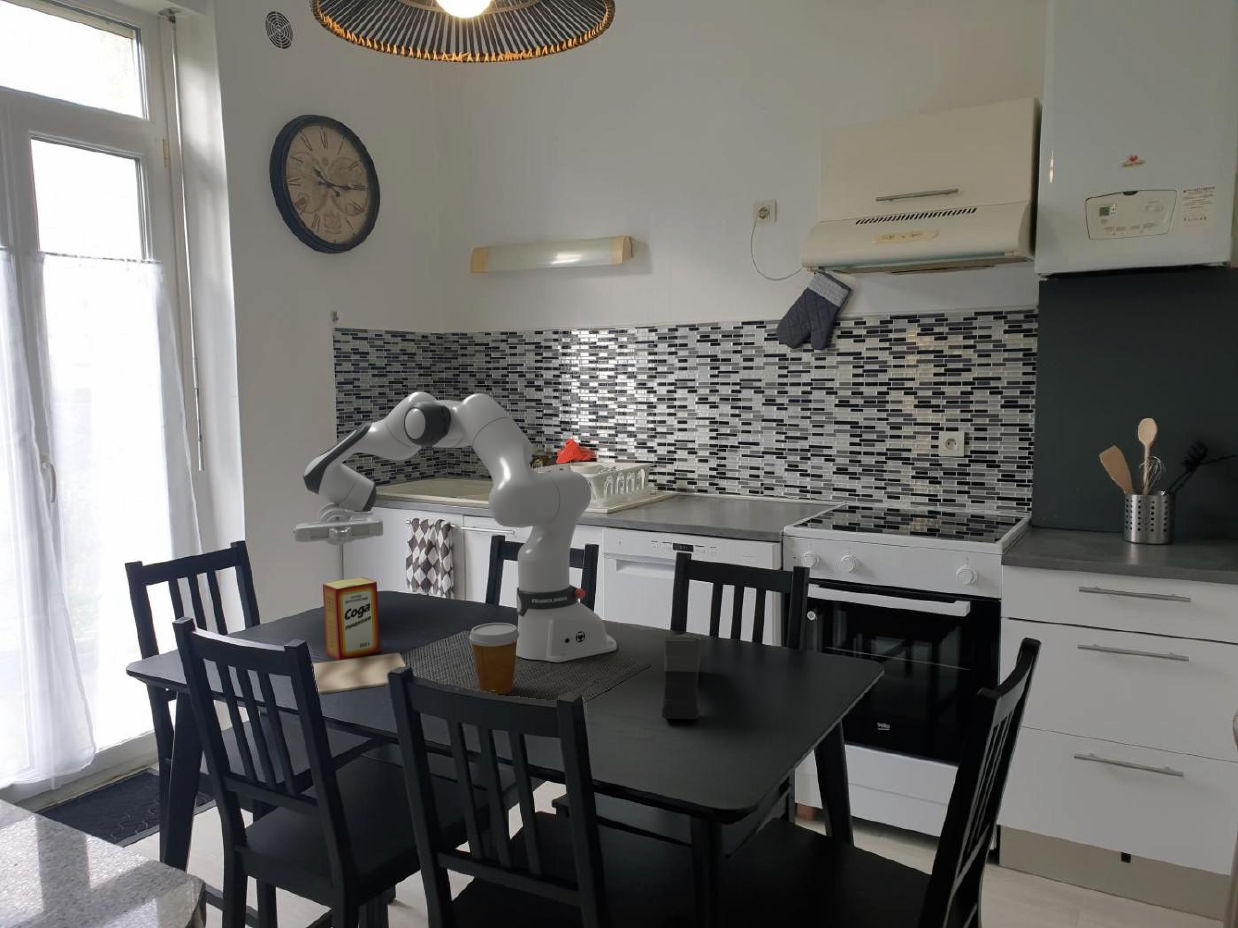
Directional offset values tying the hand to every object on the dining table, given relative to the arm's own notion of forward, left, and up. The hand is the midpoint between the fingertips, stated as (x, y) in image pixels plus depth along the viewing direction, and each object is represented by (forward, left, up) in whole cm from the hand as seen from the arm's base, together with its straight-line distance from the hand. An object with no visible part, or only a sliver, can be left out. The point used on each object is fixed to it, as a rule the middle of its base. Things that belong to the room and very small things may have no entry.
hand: (341, 535), depth 216 cm
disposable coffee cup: (-23, +52, -24) cm, 62 cm away
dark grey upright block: (-55, +70, -24) cm, 92 cm away
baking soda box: (0, +15, -24) cm, 28 cm away
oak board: (0, +31, -24) cm, 39 cm away
